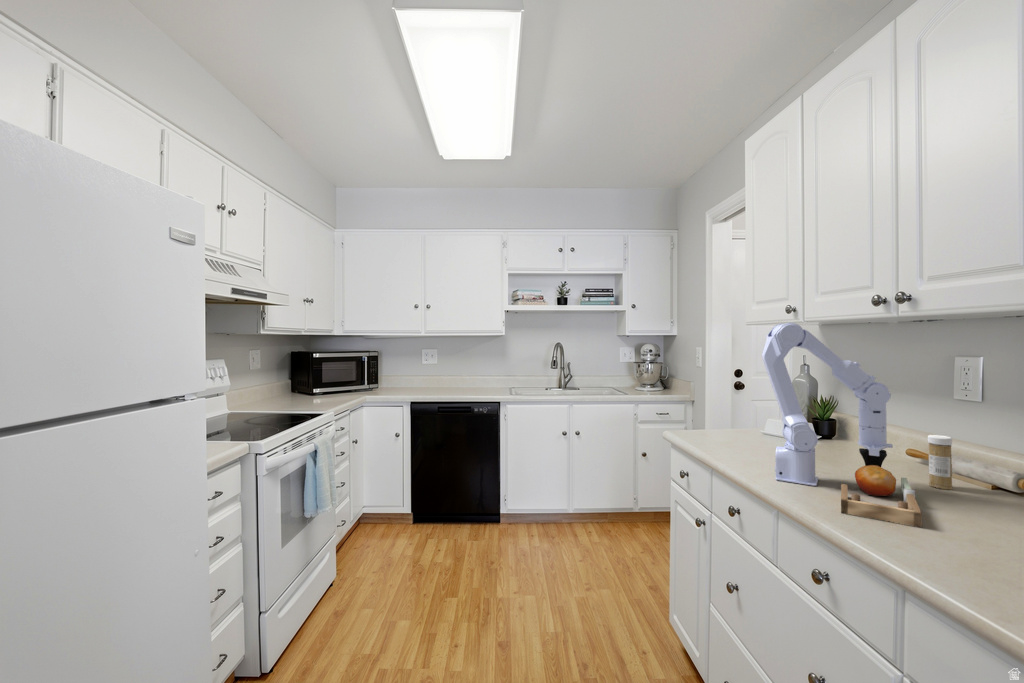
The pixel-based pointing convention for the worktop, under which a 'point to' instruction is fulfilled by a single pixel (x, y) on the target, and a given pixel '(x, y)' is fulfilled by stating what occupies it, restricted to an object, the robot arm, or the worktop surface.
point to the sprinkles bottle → (940, 461)
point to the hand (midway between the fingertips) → (873, 477)
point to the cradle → (882, 509)
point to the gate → (906, 488)
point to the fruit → (875, 480)
